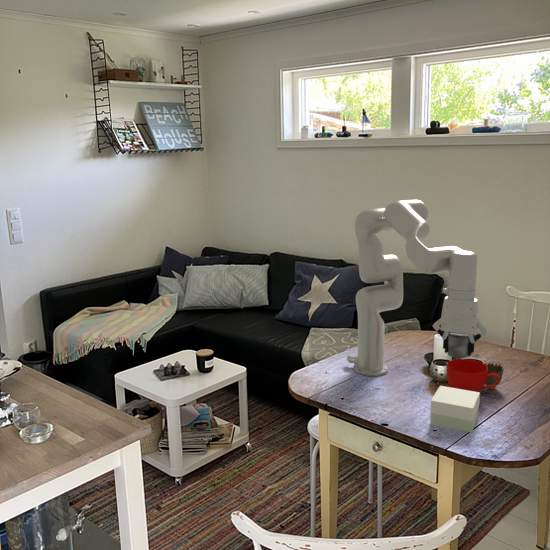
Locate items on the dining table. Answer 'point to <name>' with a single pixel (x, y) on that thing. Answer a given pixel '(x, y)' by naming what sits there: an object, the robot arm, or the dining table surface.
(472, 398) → the tower top block
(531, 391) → the dining table surface
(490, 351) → the dining table surface
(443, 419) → the tower base block
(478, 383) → the ceramic cup
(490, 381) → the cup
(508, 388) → the dining table surface
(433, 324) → the robot arm
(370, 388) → the dining table surface
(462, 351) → the slate drum
